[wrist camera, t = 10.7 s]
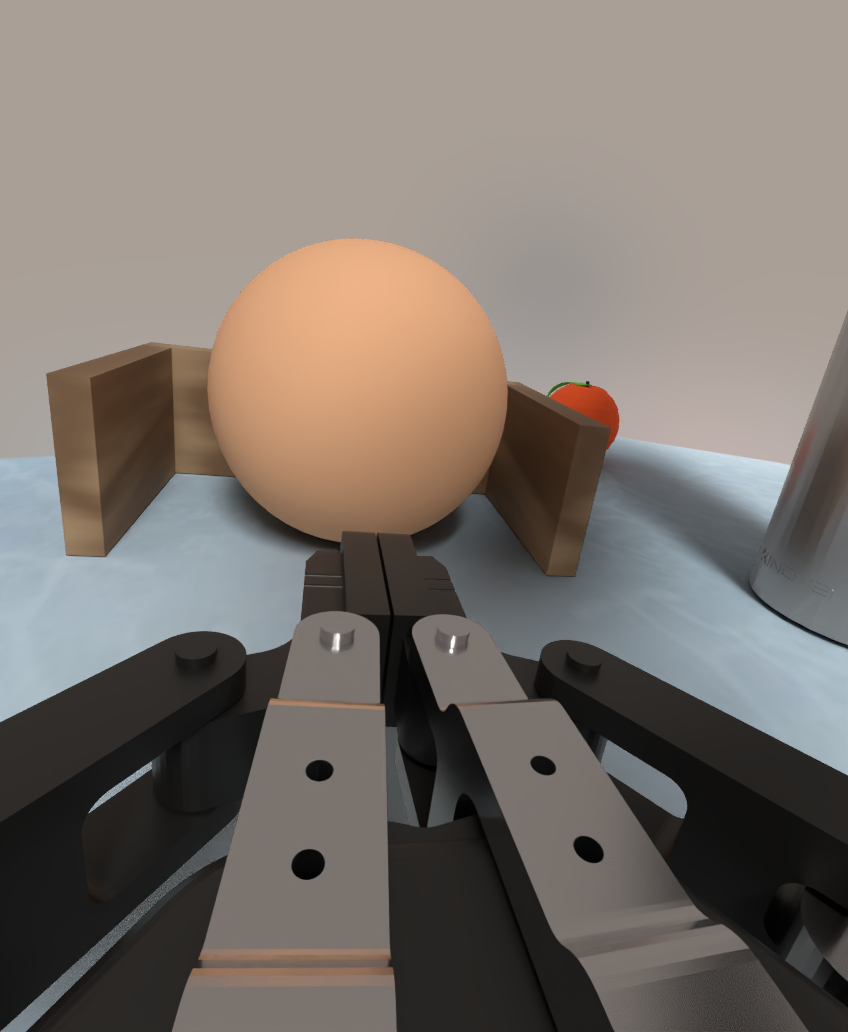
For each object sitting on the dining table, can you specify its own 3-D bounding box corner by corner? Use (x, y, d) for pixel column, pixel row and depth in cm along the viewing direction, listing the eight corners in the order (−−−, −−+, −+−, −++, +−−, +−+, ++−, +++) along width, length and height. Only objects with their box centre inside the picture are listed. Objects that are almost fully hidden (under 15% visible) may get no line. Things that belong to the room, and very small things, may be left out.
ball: (509, 607, 24) (441, 522, 37) (597, 254, 21) (488, 301, 34) (151, 561, 21) (218, 487, 34) (196, 141, 18) (249, 241, 31)
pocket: (499, 488, 40) (518, 382, 38) (574, 576, 28) (611, 428, 25) (156, 463, 36) (151, 342, 33) (66, 554, 24) (46, 373, 21)
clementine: (509, 448, 53) (523, 371, 51) (559, 445, 57) (574, 374, 54) (573, 473, 47) (593, 387, 45) (624, 468, 51) (645, 389, 49)
